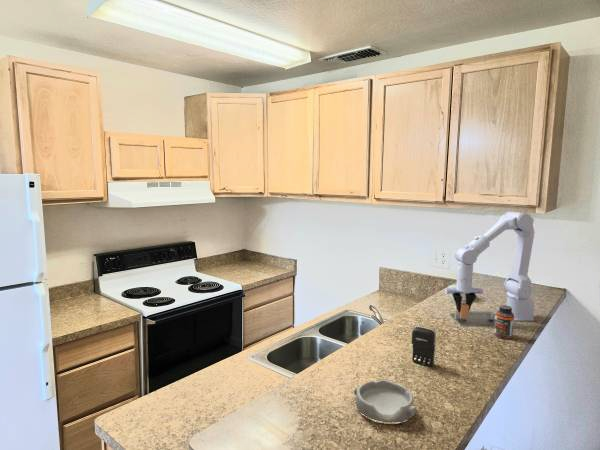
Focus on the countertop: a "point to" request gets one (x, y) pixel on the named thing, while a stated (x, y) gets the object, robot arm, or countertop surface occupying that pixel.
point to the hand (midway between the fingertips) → (463, 310)
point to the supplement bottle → (504, 322)
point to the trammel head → (464, 310)
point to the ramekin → (461, 294)
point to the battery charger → (423, 345)
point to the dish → (385, 401)
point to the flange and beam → (475, 318)
